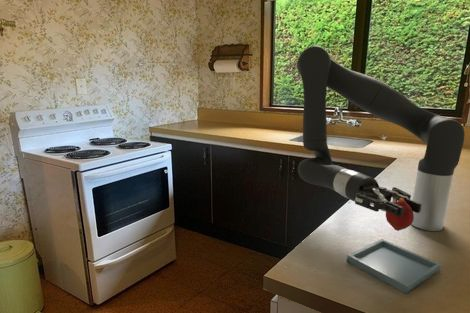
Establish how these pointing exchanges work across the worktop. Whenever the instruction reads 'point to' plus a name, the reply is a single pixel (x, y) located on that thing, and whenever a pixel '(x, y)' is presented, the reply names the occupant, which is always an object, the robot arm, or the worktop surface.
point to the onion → (404, 220)
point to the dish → (394, 265)
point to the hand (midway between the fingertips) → (411, 210)
